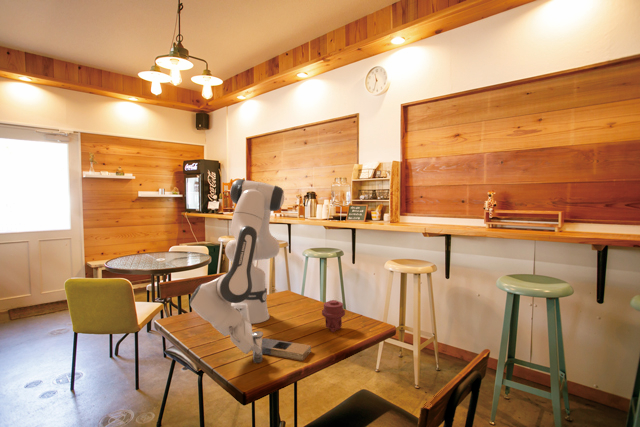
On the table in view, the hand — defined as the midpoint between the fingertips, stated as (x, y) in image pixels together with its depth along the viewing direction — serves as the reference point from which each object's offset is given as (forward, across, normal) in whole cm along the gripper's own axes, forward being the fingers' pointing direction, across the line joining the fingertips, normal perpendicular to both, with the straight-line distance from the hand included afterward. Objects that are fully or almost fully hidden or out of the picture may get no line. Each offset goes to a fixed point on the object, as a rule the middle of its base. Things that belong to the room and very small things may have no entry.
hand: (259, 346), depth 117 cm
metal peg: (+3, 0, +4) cm, 5 cm away
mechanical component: (+27, +20, -20) cm, 39 cm away
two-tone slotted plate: (+10, +4, -3) cm, 11 cm away
